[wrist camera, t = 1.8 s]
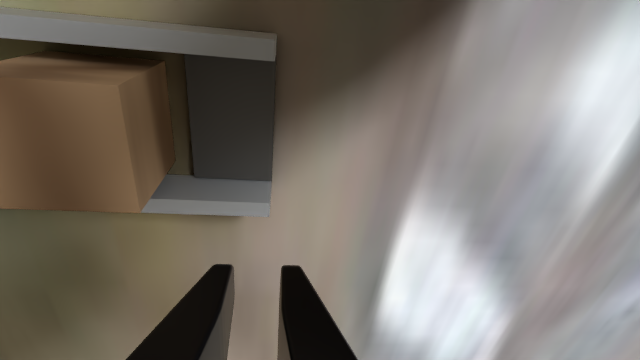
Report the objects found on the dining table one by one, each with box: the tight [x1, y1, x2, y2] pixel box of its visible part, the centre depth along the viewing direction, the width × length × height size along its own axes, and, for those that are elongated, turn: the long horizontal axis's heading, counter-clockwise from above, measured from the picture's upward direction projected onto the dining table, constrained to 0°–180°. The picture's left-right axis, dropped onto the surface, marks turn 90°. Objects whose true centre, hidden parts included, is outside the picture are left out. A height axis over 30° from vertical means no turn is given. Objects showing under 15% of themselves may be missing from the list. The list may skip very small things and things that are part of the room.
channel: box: [0, 7, 277, 217], centre depth 15 cm, size 16×8×2 cm, turn 84°
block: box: [0, 51, 176, 213], centre depth 14 cm, size 5×5×5 cm
